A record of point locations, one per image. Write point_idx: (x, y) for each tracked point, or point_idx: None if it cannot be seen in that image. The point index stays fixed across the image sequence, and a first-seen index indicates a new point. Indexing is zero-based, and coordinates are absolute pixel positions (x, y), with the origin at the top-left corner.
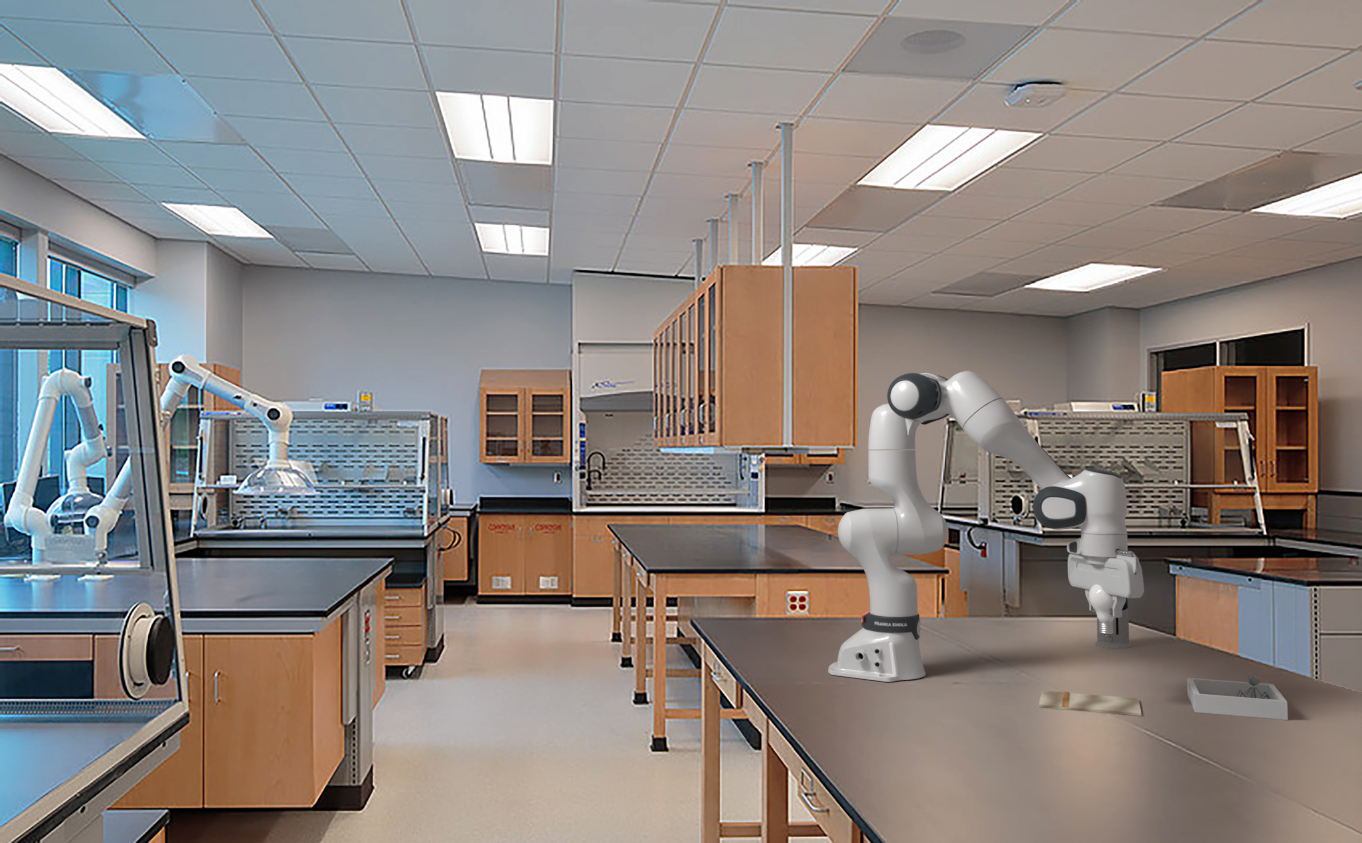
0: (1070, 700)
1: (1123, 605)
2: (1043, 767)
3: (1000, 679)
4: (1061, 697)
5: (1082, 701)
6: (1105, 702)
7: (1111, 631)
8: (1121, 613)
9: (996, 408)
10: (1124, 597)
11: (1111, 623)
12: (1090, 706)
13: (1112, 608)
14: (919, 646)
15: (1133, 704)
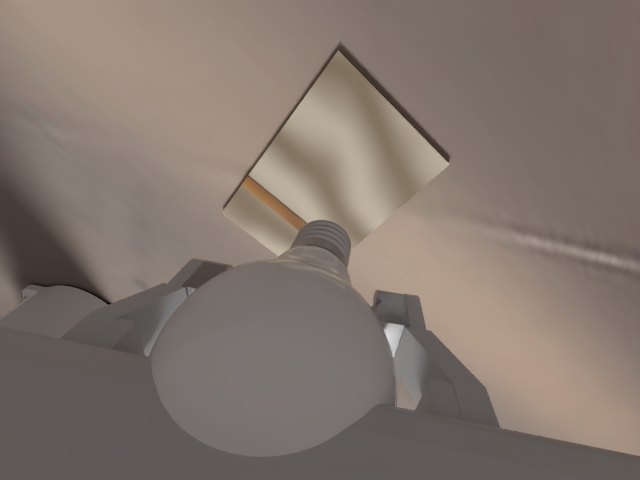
0: (305, 218)
1: (450, 353)
2: (536, 431)
3: (112, 207)
4: (279, 217)
5: (318, 203)
6: (342, 166)
7: (349, 246)
8: (419, 308)
9: None
10: (490, 424)
11: (345, 265)
12: (356, 217)
13: (394, 362)
14: (50, 334)
15: (382, 117)
